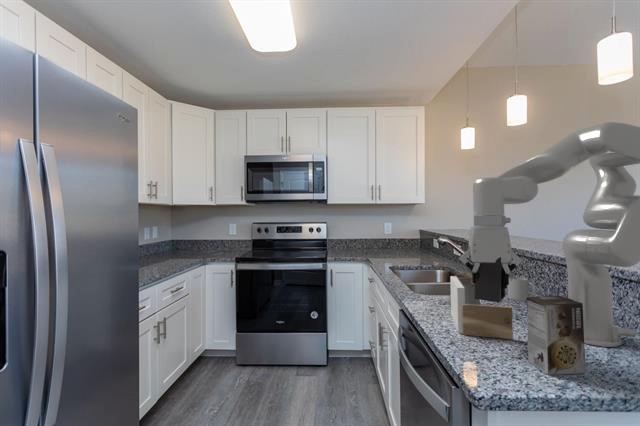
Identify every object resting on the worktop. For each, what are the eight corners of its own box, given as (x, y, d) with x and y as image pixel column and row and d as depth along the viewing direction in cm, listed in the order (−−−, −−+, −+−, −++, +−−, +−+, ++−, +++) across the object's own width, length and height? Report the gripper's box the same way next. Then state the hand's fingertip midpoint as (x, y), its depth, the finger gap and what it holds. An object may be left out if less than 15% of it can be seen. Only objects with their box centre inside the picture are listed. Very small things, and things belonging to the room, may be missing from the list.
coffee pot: (444, 311, 112) (443, 271, 112) (452, 303, 121) (451, 267, 121) (511, 323, 99) (510, 278, 99) (514, 313, 108) (513, 272, 108)
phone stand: (499, 303, 77) (498, 257, 77) (474, 299, 81) (473, 255, 81) (506, 295, 84) (505, 253, 84) (482, 292, 88) (481, 251, 88)
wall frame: (457, 314, 108) (456, 276, 108) (465, 333, 90) (464, 288, 91) (451, 314, 108) (450, 276, 108) (458, 333, 91) (457, 287, 91)
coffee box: (562, 360, 73) (560, 295, 74) (586, 374, 67) (584, 302, 67) (526, 361, 73) (525, 296, 73) (548, 375, 66) (546, 303, 67)
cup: (510, 295, 132) (509, 275, 132) (537, 299, 125) (537, 278, 125) (506, 299, 126) (506, 278, 126) (535, 303, 119) (534, 281, 120)
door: (462, 333, 90) (462, 303, 90) (511, 337, 86) (510, 307, 86) (463, 335, 88) (463, 305, 88) (513, 340, 84) (513, 309, 84)
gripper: (519, 221, 83) (521, 285, 83) (453, 222, 89) (454, 282, 88) (529, 222, 76) (531, 292, 76) (457, 222, 81) (458, 288, 81)
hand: (490, 286), depth 82 cm, fingers closed on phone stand, 6 cm apart
